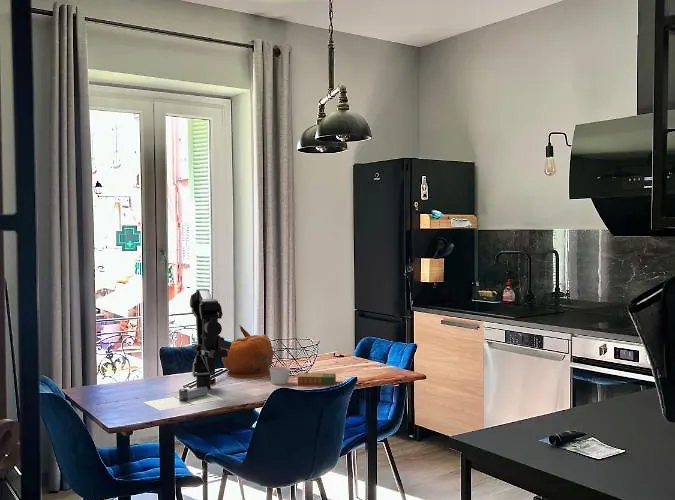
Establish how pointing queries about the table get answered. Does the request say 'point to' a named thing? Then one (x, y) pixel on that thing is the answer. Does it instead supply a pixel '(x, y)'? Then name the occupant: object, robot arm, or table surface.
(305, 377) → the carton
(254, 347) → the pumpkin
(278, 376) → the candle
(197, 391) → the bar
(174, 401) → the board
